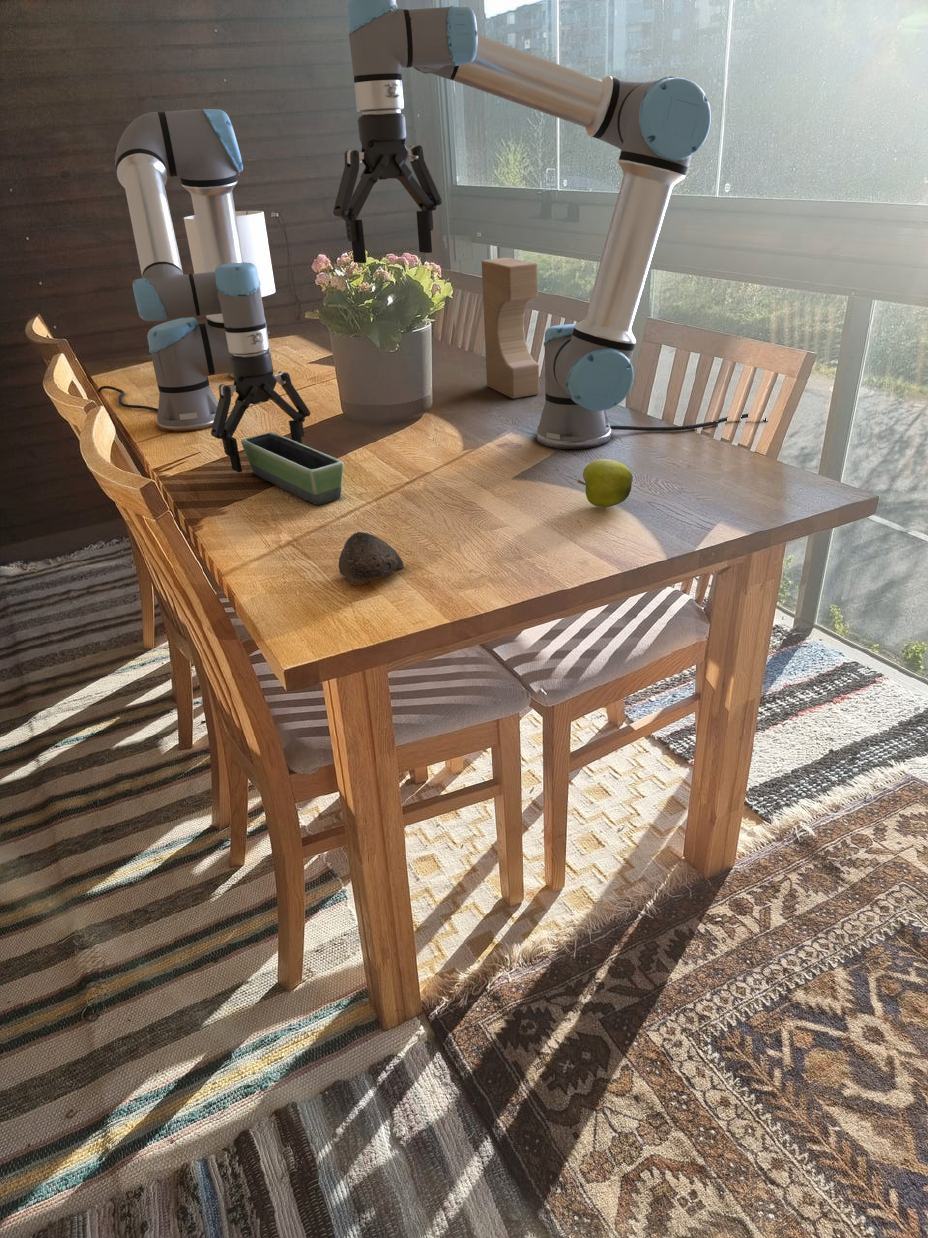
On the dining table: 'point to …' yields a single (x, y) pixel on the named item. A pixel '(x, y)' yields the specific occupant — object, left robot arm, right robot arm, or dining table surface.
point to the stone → (367, 559)
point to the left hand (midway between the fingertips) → (268, 461)
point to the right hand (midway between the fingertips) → (393, 257)
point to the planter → (295, 467)
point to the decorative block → (509, 325)
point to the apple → (606, 482)
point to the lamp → (251, 248)
